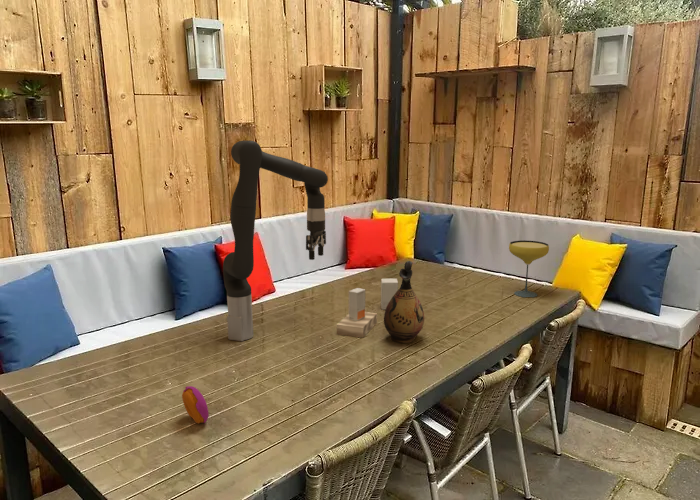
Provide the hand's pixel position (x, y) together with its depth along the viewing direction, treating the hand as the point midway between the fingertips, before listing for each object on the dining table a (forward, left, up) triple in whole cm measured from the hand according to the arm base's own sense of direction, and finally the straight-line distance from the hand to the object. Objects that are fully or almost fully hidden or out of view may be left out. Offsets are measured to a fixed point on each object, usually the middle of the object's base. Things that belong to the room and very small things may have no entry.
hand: (316, 257), depth 225 cm
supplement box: (+25, -24, -27) cm, 44 cm away
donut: (-88, -2, -27) cm, 92 cm away
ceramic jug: (-9, -40, -27) cm, 49 cm away
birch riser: (-5, -20, -27) cm, 34 cm away
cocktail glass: (+66, -81, -27) cm, 108 cm away
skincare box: (-4, -20, -23) cm, 31 cm away
